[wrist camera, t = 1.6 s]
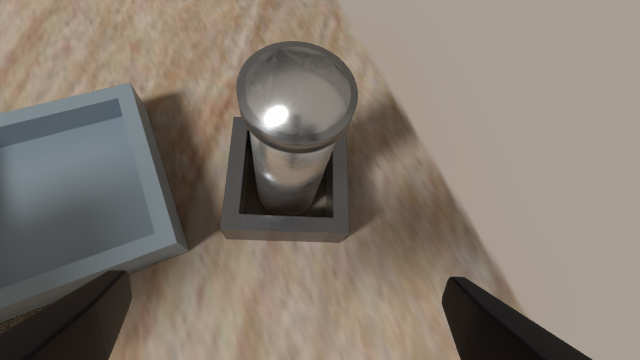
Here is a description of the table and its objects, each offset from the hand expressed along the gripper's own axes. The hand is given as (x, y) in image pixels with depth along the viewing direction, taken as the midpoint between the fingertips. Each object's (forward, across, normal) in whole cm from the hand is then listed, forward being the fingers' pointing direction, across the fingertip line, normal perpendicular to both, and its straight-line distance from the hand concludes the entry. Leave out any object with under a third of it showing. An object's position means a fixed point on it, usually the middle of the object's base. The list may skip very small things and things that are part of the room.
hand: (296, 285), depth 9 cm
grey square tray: (+15, 0, +4) cm, 16 cm away
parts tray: (+14, +14, +5) cm, 21 cm away
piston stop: (+15, 0, +4) cm, 16 cm away
